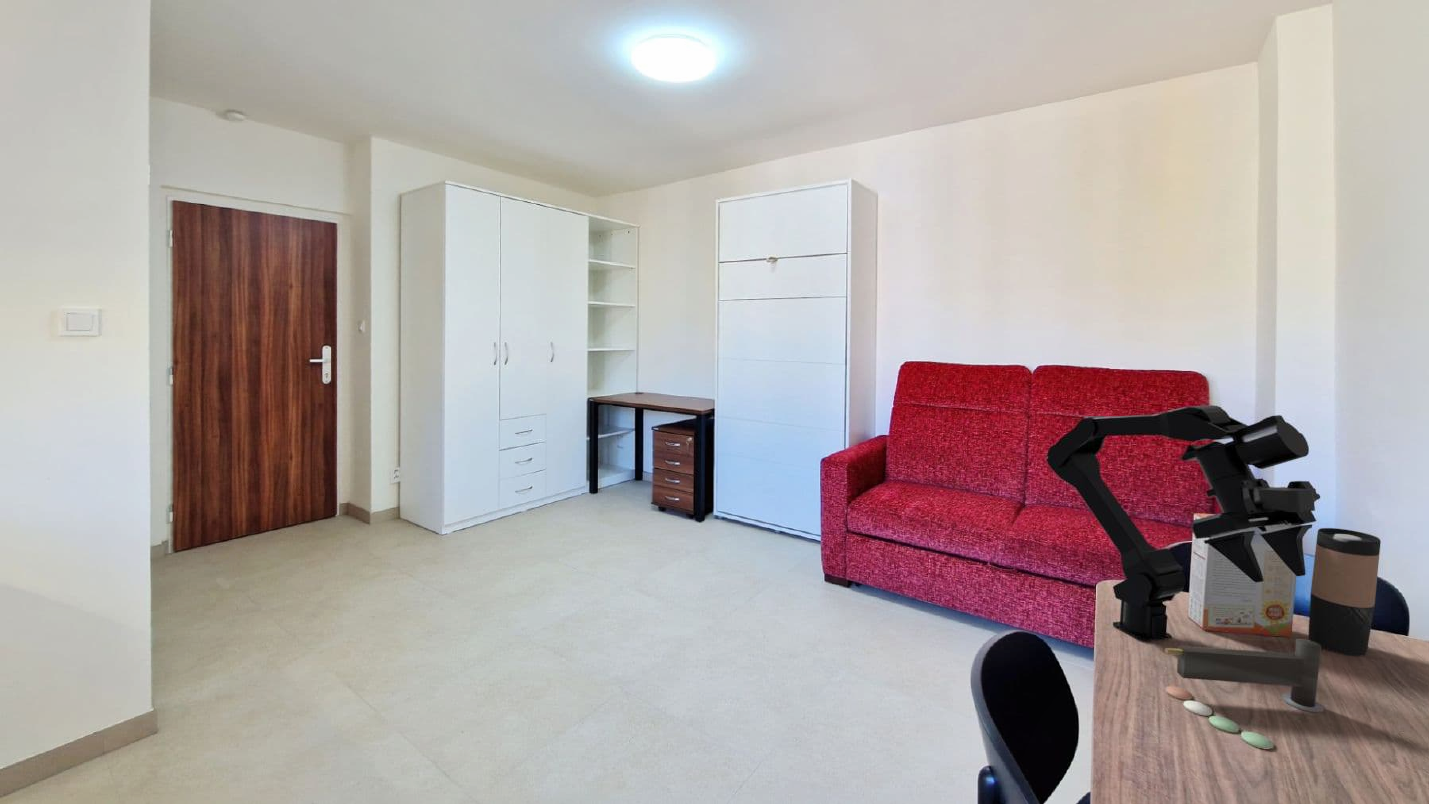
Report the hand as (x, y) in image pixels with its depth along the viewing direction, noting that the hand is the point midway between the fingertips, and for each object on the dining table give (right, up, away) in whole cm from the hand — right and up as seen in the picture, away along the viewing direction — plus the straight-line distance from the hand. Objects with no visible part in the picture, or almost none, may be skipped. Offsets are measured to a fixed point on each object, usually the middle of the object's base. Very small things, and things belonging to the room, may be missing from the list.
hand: (1280, 578), depth 89 cm
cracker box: (+13, -16, +22) cm, 30 cm away
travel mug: (+24, -16, +15) cm, 33 cm away
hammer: (-7, -18, 0) cm, 19 cm away
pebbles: (-6, -18, -3) cm, 19 cm away
